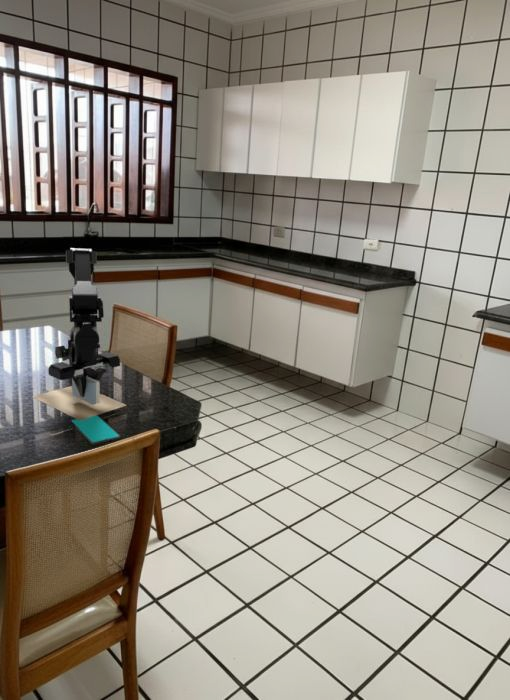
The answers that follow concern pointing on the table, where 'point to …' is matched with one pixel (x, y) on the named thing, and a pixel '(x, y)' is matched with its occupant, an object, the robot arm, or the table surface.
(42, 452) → the table surface
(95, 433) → the smartphone
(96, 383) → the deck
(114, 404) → the mat
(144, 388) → the table surface
